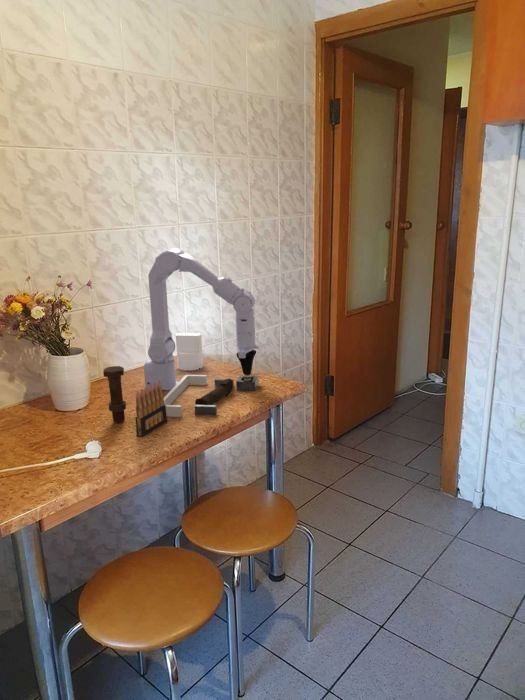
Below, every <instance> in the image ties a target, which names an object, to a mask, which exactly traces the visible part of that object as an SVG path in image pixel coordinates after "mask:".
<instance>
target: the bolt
mask: <svg viewBox="0 0 525 700" xmlns="http://www.w3.org/2000/svg"><path fill="white" fill-rule="evenodd" d="M124 369H125V368H124V367H123V366H120V365H113V366H107V367H105V368H104V369H103V372H102V373H103V374H102V375H103V378H107V381H108V385H109V386H108V387H109V388H108V389H109V396H110V397H109V398H110V402H109V403H108V411H109V412H111V413H112V421H113V422H114V423H115V424H121V423H122V422H124V421H125V420H126V419H125V418H126V416H125V410H126V409H127V402H126V401H125V399H124V397H123V389H122V386H123V385H122V376H124V374H125V370H124Z"/></svg>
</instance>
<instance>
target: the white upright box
mask: <svg viewBox="0 0 525 700" xmlns="http://www.w3.org/2000/svg"><path fill="white" fill-rule="evenodd" d="M202 342H203V341H202V333H186V332H185V333H182V332H181V333H176V334H175V348H176V359H177V369H178V370H180V371H187V370H188V371H197V370H199V368H200V369H202V368H203V367H204V360H203V359H204V357H203V343H202ZM196 369H197V370H196Z"/></svg>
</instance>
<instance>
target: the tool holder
mask: <svg viewBox="0 0 525 700" xmlns="http://www.w3.org/2000/svg"><path fill="white" fill-rule="evenodd" d="M226 379H227V378H215V379H214V389H216V388H217V387H219V386H220V382H222V381H224V380H226ZM230 379H231V380H232V383H233V389H234V388H235V387H236V391H239V392H257V389H258V388H259V385H260V384H259V381H260V380H259V379H260V378H259V375H253V377H251V381H244V378H242V374H240V375H239V376H238V378H237V379H236V381H235V379H233V378H230ZM235 385H236V386H235ZM217 406H218V405H217V404H212V405H194V415H195V416H196V415H198V416H217V415H216V414H218V408H217Z"/></svg>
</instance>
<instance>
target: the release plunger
mask: <svg viewBox="0 0 525 700" xmlns="http://www.w3.org/2000/svg"><path fill="white" fill-rule="evenodd" d="M241 375H242V378H244V381H251V377H253V376H254V373H253V372H251V374H250V375H244V374H243V372H241Z"/></svg>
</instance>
